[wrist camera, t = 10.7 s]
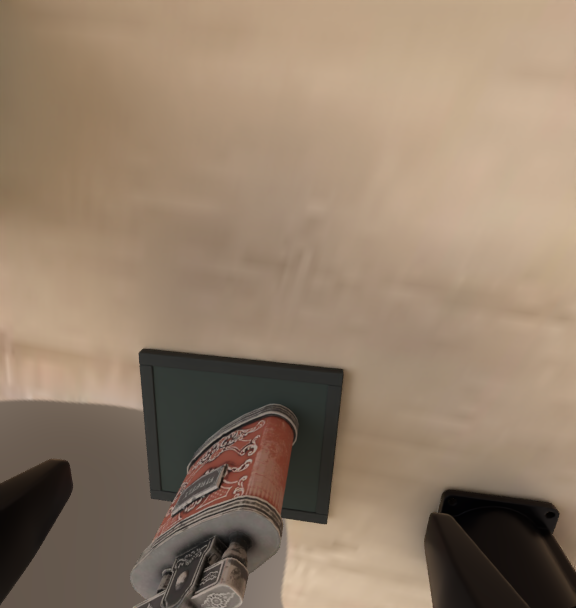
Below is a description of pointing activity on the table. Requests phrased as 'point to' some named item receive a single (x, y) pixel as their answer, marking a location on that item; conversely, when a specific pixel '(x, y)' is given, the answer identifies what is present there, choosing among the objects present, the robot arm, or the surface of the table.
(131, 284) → the table surface
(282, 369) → the desk mat
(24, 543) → the robot arm
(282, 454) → the lighter
